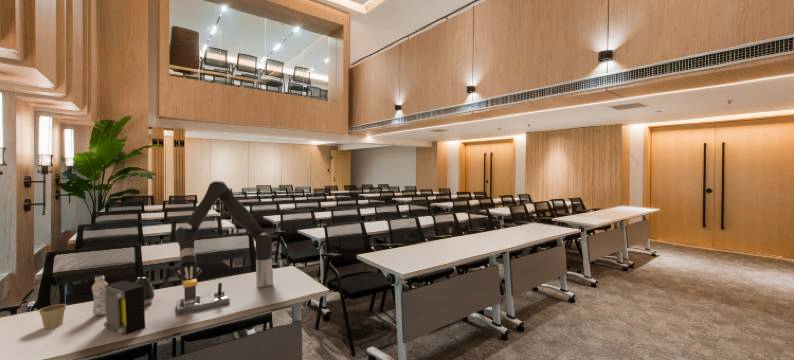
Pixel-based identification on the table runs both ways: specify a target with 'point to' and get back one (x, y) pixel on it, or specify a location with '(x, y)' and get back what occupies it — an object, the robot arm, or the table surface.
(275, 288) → the table surface
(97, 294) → the plastic bottle
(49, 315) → the flower pot
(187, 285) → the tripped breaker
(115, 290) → the electrical component
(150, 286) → the dark grey ridged ovoid
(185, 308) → the grey lever switch
